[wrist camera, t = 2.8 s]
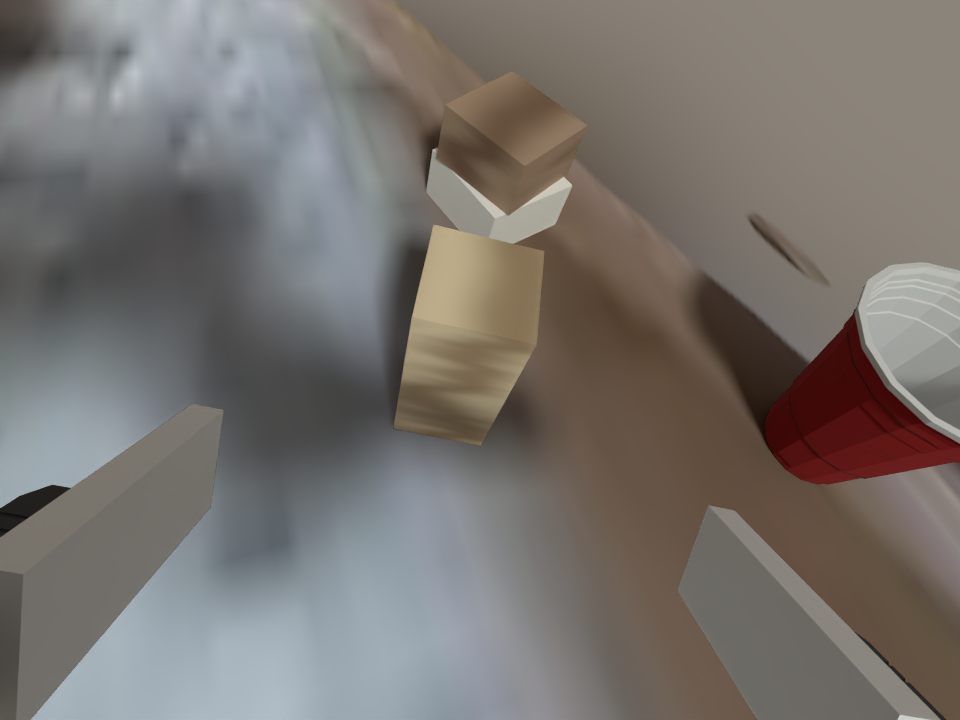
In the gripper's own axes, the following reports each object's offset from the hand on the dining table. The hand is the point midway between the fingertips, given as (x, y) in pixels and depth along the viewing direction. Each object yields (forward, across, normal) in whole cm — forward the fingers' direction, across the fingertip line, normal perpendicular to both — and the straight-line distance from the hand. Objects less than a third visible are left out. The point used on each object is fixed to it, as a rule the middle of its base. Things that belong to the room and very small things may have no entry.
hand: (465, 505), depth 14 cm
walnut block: (+26, +1, +12) cm, 29 cm away
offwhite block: (+29, +1, +9) cm, 30 cm away
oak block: (+17, 0, -3) cm, 18 cm away
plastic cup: (+19, +23, -1) cm, 30 cm away
